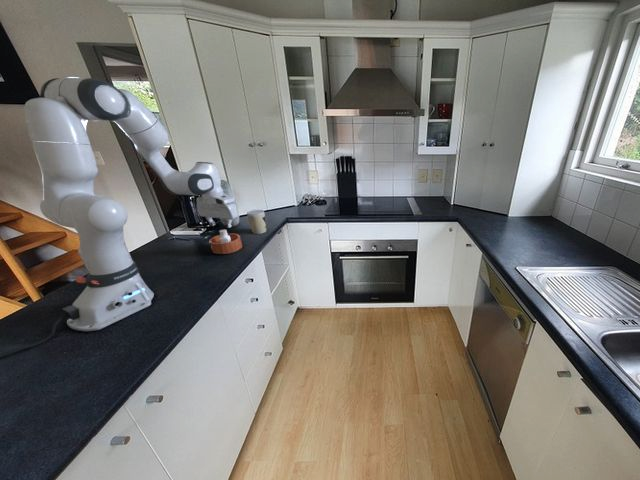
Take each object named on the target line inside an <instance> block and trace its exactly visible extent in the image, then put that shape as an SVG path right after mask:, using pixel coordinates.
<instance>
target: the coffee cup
mask: <svg viewBox="0 0 640 480" xmlns="http://www.w3.org/2000/svg"><path fill="white" fill-rule="evenodd" d="M246 216H247V220H248V222H249V226H250V229H251V232H252V234H255V235H260V234H261V235H262V234H264V233H266V232H267V222H266V215H265V211H264V210H262V209H253V210H249V211H247V212H246Z"/></svg>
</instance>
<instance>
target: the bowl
mask: <svg viewBox="0 0 640 480" xmlns="http://www.w3.org/2000/svg"><path fill="white" fill-rule="evenodd" d="M227 235H229V236H230V239H231V242H226V243H220V239H219V238H220V237H221V235H220V234H218V235H215V236H212V237H211V238H210V239H209V240H208V242H209V246H210V249H211V252H212V253H213V254H217V255H227V254H228V255H229V254H232V253H236V252H238V251H239V250H241V249H242V248H243V241H242V238H241V235H240V234H238V233H232V232H231V233H229V232H228V233H227Z"/></svg>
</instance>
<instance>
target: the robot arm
mask: <svg viewBox="0 0 640 480" xmlns="http://www.w3.org/2000/svg"><path fill="white" fill-rule="evenodd" d="M39 92H40V94H39V97H35V98H31V99H29V100H27V101H26V102H25V104H24V118H25V123H26V124H25V125H26V128H27V133H28V137H29V139H30V141H31V145H32V148H33V150H34V153H35V156H36V159H37V163H38V164H39V168H40V171H41V172H40V173H41V176H42V190H43V191H42V193H43V198H42V200H41V201H40V203H39V210H40V212H41V213H42V214H41V215H43V216H44V217H45V218H46V219H47V220H49V221H51V222H52V223H55V224H57V225H59V226H62V227H65V228H72V229H74V230H75V231H76V233H77V235H78V239H79V247H78V249H77V253H78V255H79V257H80V258H81V261H82V262H83V265H85V268H86V270H87V272H88V273H87V275H86V276H77V277H76V278H75V282H76V283H77V284H78V283H79V284H86V287H85V288H84V290H83V291H82V292H81V293H80V294H79V295H78V297H77V298H76V299H75V300H74V302H72V304H70V305H68V306H65V307H63V308H61V310H62V312H63V313H64V314H62V315H61V316H60V317H59V318H57V319H56V320H55V321H54V322H53V323H52V325H51V326H50V332H49V334H48V335H47V336H46V337H45V338H43V339H41V340H38V341H36V342H33V343H30V344H27V345H23V346H20V347H18V348H15V349H12V350H10V351H7V352H4V353H1V354H0V359H2V358H6V357H8V356H10V355H13V354H17V353H18V352H21V351H25V350H27V349H31V348H34V347H37V346H39V345H41V344H42V343H45V342H47V341H49V340H51V339H52V338H53V337H54V336H55V334H56V330H57V329H56V328H57V326H58V325H59V324H60V323H61V322H62V321H63V320H65V319H66V318H68V319H67V320H66V324H67V326H68V327H69V328H70V329H72V330H75V331H78V332H79V331H80V332H94V331H95V332H96V331H100V330H102V329H104V328H107V327H108V326H110V325H112V324H114V323H117V322H119V321H120V320H123V319H125V318H127V317H129V316H130V315H133V314H135V313H138V312H140V311H141V310H143V309H146V308H148V307H150V306H151V305H152V300H153V298H154V295H155V293H154V292H153V291H152V290H151V289H150V288H149V286H148V285H147V283H146V282H145V280H144V279H143V277H142V276H141V272H140V269H139V267H138V265H137V263H136V262H135V260H133V258H132V256H131V254H130V251H129V249H128V246H127V244H126V240H125V235H124V226H125V225H126V224H127V221H128V219H129V218H128V217H129V216H128V211H127V208H126V207H125V206H124V205H123V204H122V203H120V202H118V201H117V200H115V199H112V198H111V197H108V196H104V195H101V194H100V195H99V194H95V190H94V189H95V179H96V177H97V176H98V174H99V169H98V165H97V161H96V158H95V154H94V152H93V148H92V145H91V141H90V138H89V136H88V133H87V124H88V122H103V121H107V122H114V123H115V124H116V125H117V126H118V127H119V128H120V129H121V131H123V133H124V134H125V135H126V136H127V137H128V138H129V140H131V142H132V143H133V144H134V145H133V146H134V148H135V150H136V151H137V153H138V155H140V157H141V158H142V160H143V161H144V162H145V163H146V164H147V165H148V167H149V168H150V169H151V170H152V171H153V173H154V174H155V175H156V177H157V178H158V180H159V182H160V185H161V187H162V188H163V189H164V190H165V191H166V192H167V193H168V194H169V195H174V196H180V195H182V196H183V195H184V196H185V195H186V196H198V197H197V198H196V200H195V201H196V210H197V214H198V216H200V217H204V218H205V219H206V221H208V223H209V226H211V227H214V226H216V222H215V221H214V220H213V219H220V218H221V219H226V221H228V222H227V224H226V226H225V228H232V227H231V222H232V220H233V219H236V218H237V217H238V214H239V211H238V212H237V209H238V207H237V208H236V205H235V204H234V203H233V202H234V198H235V197H234V198H233V197H231V196H229V195H227V194H225V193H223V189H222V188H221V180H222V179H221V177H220V173H219V170H218V168H217V166H216V164H215V163H213V162H208V161H197V162H194V166H193V167H192V168H191V169H189V170H188V171H180V170H177V169H174V168H172V166H171V165H170V164H169V162H168V161H167V160H166V158H165V157H164V156H163V154H162V153H161V150H162V149H163V148H164V147H165V146H167V143H168V142H169V141H168V140H169V134H168V132H167V130H166V128H165V127H164V125H163V124H162V122H161V121H160V120H159V119H158V118H157V117H156V115H155V114H154V113H153V111H151V109H150V108H148V106H147V105H145V104H144V102H143V101H142V100H140V99H139V97H138V96H136V95H135V94H134V93H133V92H131V91H129V90H127V89H122V88H118V87H116V86H114V85H113V84H112V83H109V82H107V81H105V80H102V79H98V78H94V77H93V78H92V77H89V78H88V77H87V78H84V77H77V76H67V77H58V78H57V77H56V78H51V79H49V80H47V81H45V82H44V83H43V84H42V86H41V88H40V91H39ZM221 219H220V220H221Z"/></svg>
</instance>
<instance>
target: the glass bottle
mask: <svg viewBox="0 0 640 480" xmlns="http://www.w3.org/2000/svg"><path fill="white" fill-rule="evenodd" d="M220 180H221V188H222V189H223V193H225V194H227V195H229V196H231V197H233V198H234V202H233V203H234V204H235V205H236V208H237V212H238V217H237V218H236V219H233V220H232V222H231V227H230V228H233V227H236V226H238V225H239V223H240V214H239V209H238V204H237V200H236V198H235V195H234V193H233V192H232V189H231V186H230V183H229V182H228V181H227V180H225V179H220ZM219 219H220V221H221V223H222V224H223V226H225V227H226V224H227V222H228V221H226V219H221V218H219Z"/></svg>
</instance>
